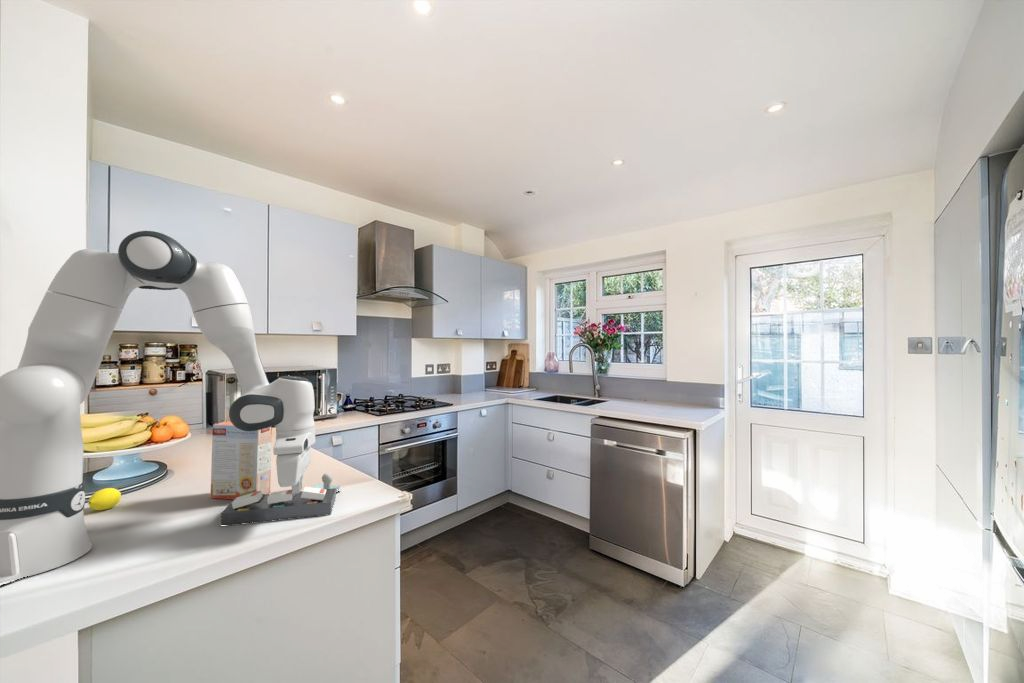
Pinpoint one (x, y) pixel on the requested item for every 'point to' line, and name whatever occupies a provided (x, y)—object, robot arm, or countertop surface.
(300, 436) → the robot arm
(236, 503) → the rocker
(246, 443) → the cracker box
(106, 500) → the lemon
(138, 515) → the countertop surface
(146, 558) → the countertop surface
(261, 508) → the power strip
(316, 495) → the rocker
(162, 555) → the countertop surface
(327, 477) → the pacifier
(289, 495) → the rocker
